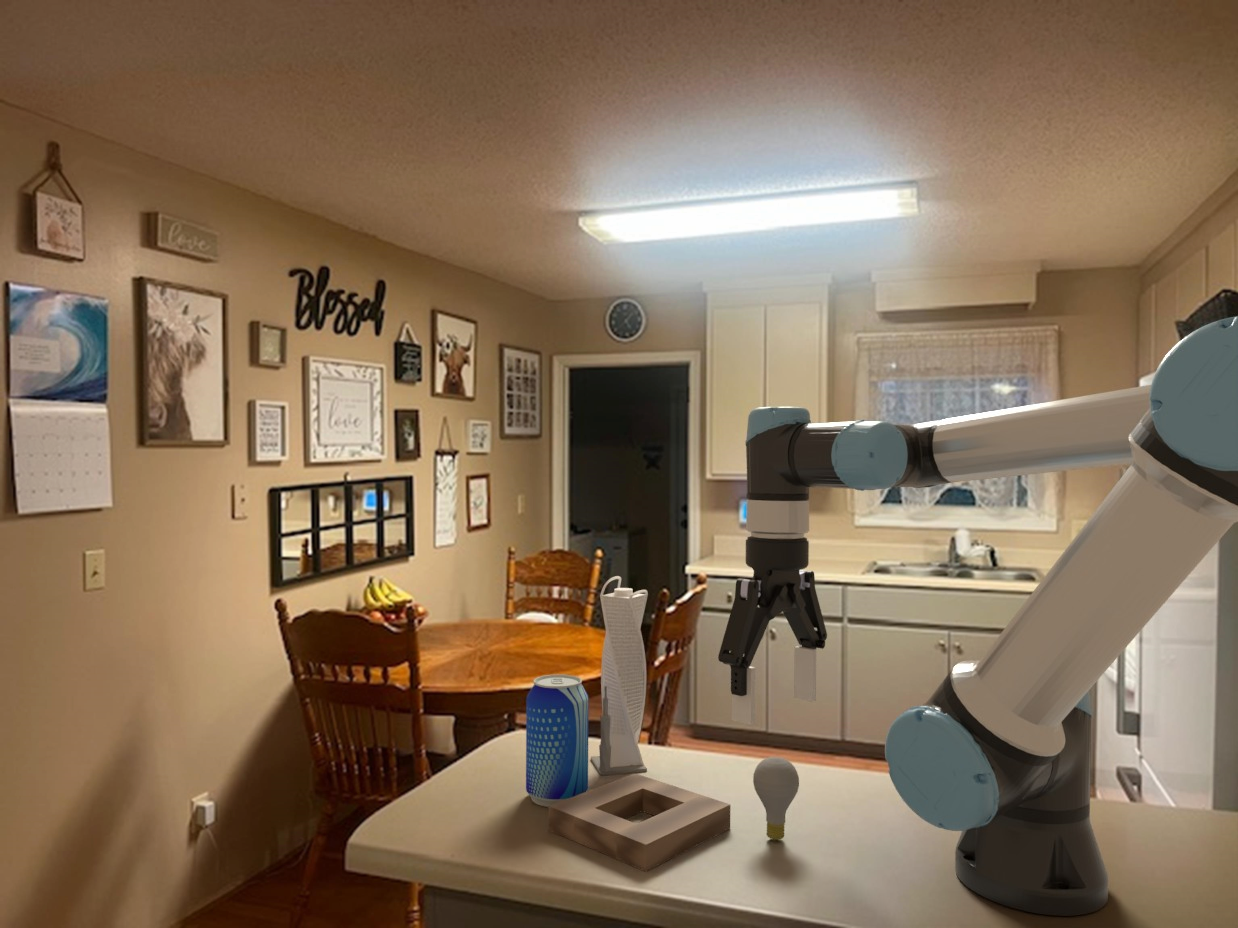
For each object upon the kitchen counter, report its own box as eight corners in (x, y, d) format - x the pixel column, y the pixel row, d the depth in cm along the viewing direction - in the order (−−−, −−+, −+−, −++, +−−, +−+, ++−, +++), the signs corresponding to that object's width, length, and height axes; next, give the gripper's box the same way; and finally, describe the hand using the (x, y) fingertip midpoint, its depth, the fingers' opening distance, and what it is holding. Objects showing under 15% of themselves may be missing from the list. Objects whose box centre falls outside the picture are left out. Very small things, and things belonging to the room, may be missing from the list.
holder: (730, 828, 110) (730, 804, 110) (645, 871, 98) (646, 844, 98) (634, 794, 121) (634, 772, 121) (548, 829, 109) (548, 805, 109)
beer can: (599, 794, 121) (600, 677, 121) (563, 814, 114) (564, 691, 114) (550, 782, 126) (551, 669, 126) (513, 801, 119) (513, 682, 119)
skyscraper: (588, 756, 137) (590, 575, 137) (639, 752, 139) (640, 574, 139) (600, 775, 129) (601, 583, 129) (654, 770, 130) (655, 581, 130)
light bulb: (798, 851, 104) (799, 766, 103) (751, 847, 105) (752, 763, 105) (798, 832, 109) (799, 751, 109) (754, 828, 110) (754, 748, 110)
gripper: (804, 527, 118) (802, 685, 119) (688, 539, 100) (686, 725, 100) (855, 531, 113) (853, 696, 113) (743, 543, 95) (741, 740, 95)
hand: (775, 710), depth 107 cm, fingers open, 13 cm apart
